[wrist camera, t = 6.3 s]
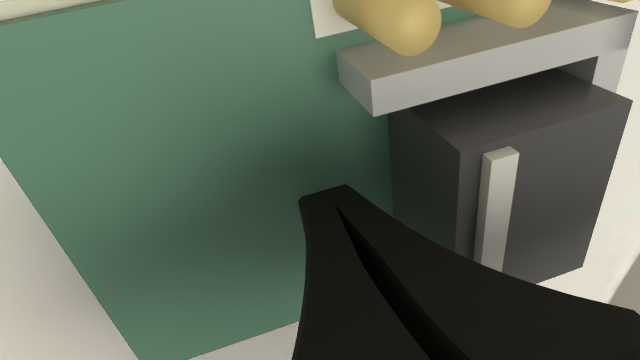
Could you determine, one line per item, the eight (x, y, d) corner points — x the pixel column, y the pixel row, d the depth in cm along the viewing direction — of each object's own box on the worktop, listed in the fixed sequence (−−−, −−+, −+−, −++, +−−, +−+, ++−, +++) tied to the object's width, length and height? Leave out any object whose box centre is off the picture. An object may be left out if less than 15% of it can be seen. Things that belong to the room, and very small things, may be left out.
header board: (530, 228, 17) (605, 294, 14) (148, 357, 14) (143, 470, 12) (592, -101, 11) (752, -104, 8) (-64, 34, 8) (-192, 104, 5)
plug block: (501, 196, 14) (590, 274, 11) (394, 231, 14) (457, 324, 11) (520, 53, 12) (646, 106, 9) (386, 89, 11) (469, 159, 8)
